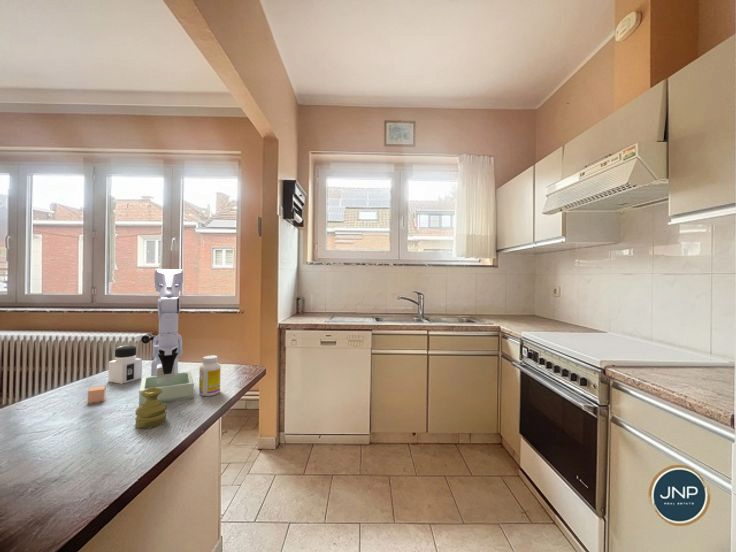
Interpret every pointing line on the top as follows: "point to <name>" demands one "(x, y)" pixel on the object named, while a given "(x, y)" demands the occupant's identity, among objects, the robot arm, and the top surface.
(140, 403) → the tote
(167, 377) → the steel block
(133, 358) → the container
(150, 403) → the brass calibration weight
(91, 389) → the terracotta box
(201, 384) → the supplement bottle
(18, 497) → the top surface
